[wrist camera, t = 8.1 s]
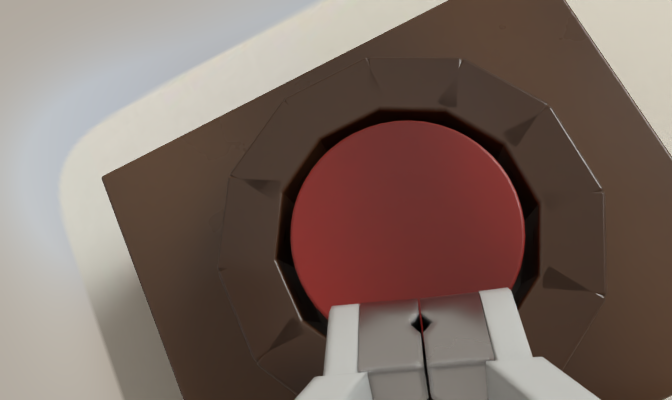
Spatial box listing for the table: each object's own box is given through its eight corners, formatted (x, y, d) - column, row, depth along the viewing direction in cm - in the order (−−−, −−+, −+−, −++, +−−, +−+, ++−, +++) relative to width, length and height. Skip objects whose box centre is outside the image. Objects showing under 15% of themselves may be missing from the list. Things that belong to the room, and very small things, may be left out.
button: (361, 384, 13) (349, 392, 11) (278, 204, 14) (253, 181, 12) (549, 293, 12) (573, 284, 10) (450, 118, 14) (453, 81, 12)
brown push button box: (310, 513, 18) (223, 645, 10) (191, 222, 20) (50, 151, 13) (674, 337, 17) (869, 336, 10) (504, 64, 20) (552, -106, 12)
